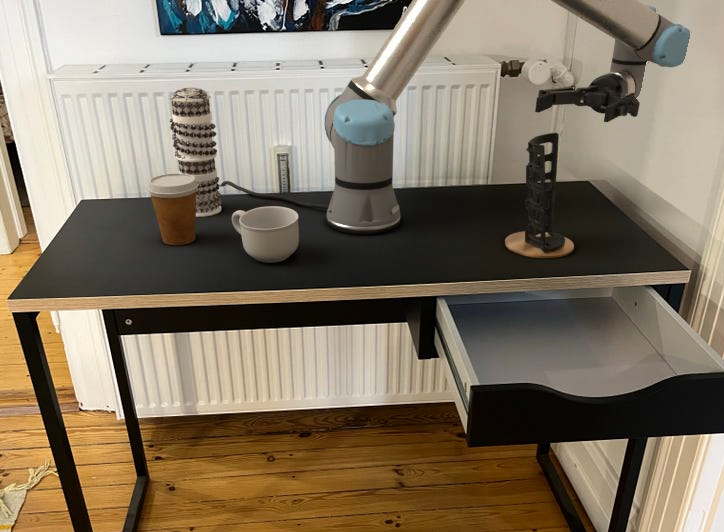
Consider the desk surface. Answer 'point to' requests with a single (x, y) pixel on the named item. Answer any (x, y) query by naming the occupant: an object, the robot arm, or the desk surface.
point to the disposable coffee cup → (175, 206)
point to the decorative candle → (196, 146)
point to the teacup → (268, 232)
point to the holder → (542, 194)
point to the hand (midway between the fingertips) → (571, 109)
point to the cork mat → (521, 247)
